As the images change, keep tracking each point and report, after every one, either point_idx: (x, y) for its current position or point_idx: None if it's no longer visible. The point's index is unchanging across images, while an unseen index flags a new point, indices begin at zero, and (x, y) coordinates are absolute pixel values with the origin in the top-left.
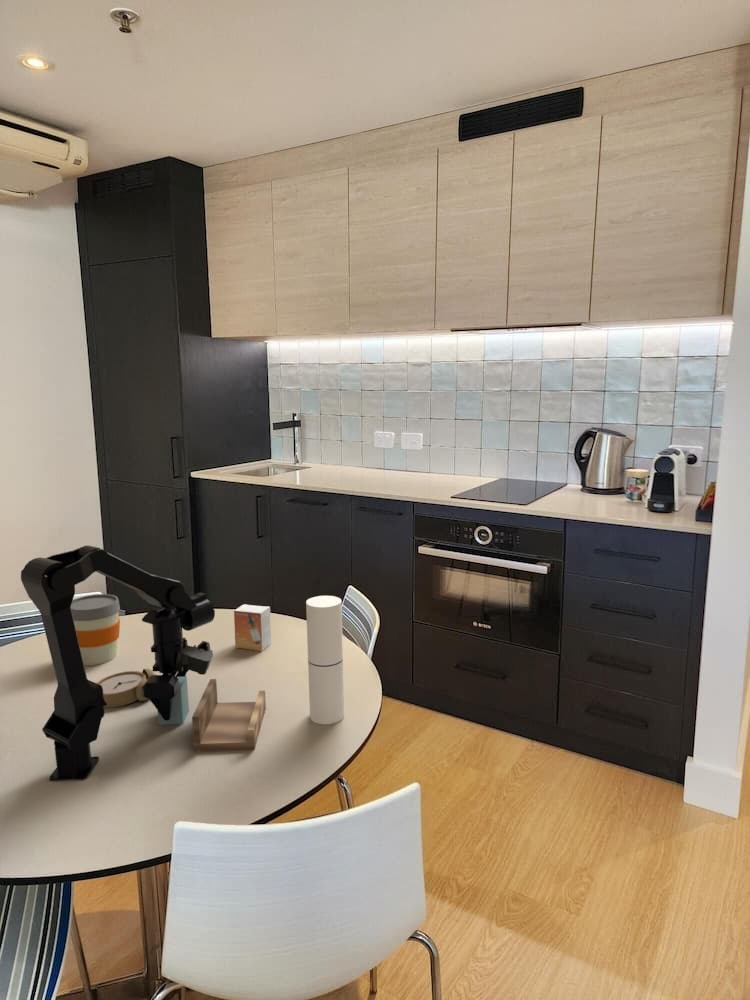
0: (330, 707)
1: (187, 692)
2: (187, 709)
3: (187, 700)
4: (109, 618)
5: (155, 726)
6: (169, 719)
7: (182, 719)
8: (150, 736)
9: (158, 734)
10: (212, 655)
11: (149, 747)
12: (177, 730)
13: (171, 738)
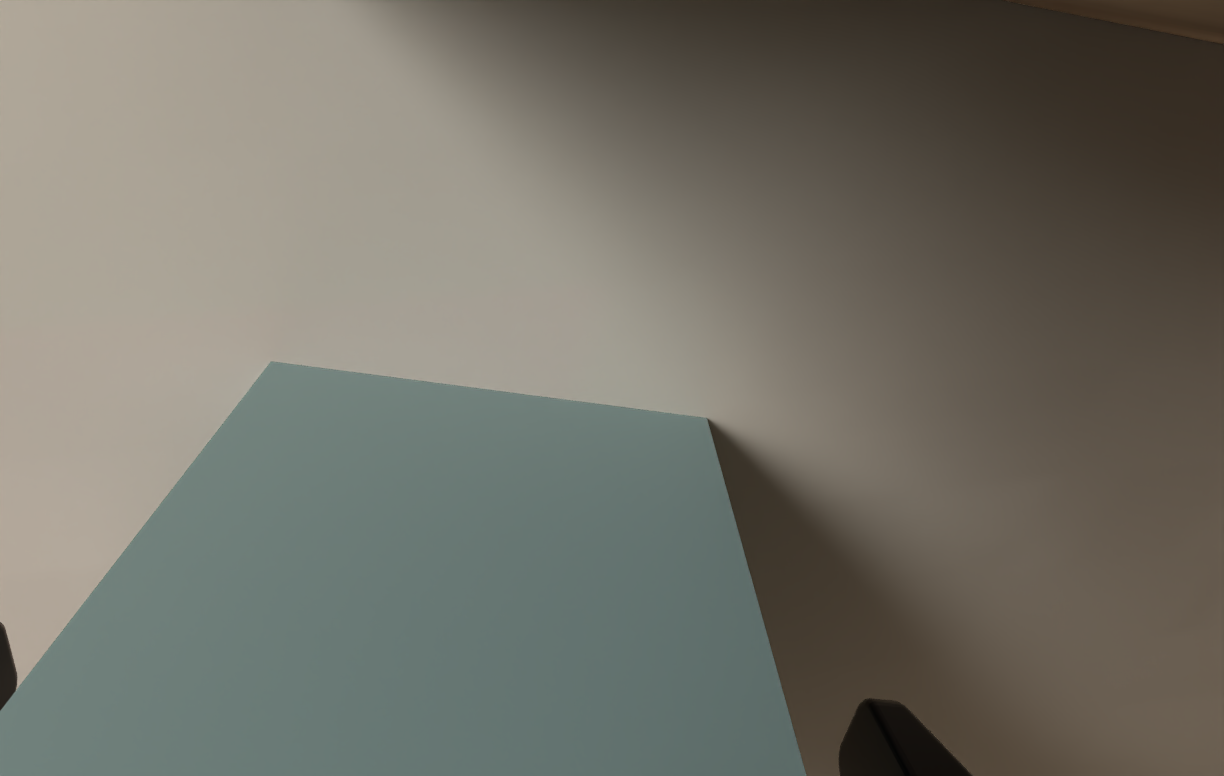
0: None
1: (70, 693)
2: (349, 425)
3: (236, 534)
4: None
5: None
6: (908, 710)
7: (719, 468)
8: None
9: (909, 677)
10: None
11: (1186, 720)
12: (903, 476)
13: (1107, 527)
